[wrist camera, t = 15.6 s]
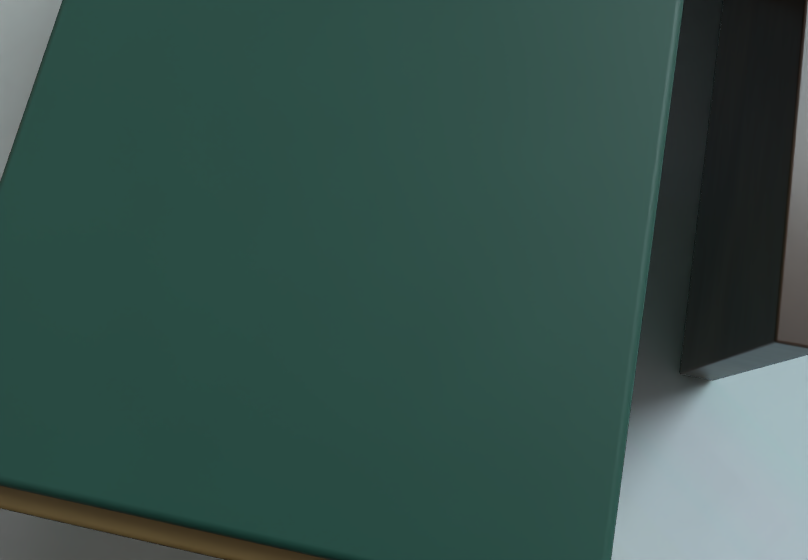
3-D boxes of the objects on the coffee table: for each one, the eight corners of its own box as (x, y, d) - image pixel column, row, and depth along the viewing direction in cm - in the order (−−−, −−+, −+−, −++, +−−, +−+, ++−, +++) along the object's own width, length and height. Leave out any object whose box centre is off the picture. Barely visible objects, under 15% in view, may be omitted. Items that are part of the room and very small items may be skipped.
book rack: (713, 381, 17) (949, 317, 9) (152, 274, 18) (-69, 139, 10) (757, -27, 19) (974, -359, 11) (258, -95, 20) (142, -433, 13)
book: (481, 499, 16) (612, 657, 4) (305, 462, 17) (-120, 489, 4) (545, 129, 18) (768, -590, 6) (386, 103, 19) (266, -623, 6)
